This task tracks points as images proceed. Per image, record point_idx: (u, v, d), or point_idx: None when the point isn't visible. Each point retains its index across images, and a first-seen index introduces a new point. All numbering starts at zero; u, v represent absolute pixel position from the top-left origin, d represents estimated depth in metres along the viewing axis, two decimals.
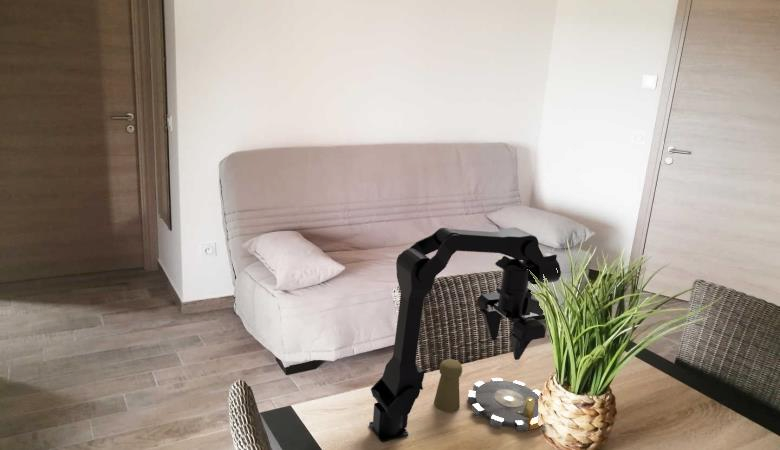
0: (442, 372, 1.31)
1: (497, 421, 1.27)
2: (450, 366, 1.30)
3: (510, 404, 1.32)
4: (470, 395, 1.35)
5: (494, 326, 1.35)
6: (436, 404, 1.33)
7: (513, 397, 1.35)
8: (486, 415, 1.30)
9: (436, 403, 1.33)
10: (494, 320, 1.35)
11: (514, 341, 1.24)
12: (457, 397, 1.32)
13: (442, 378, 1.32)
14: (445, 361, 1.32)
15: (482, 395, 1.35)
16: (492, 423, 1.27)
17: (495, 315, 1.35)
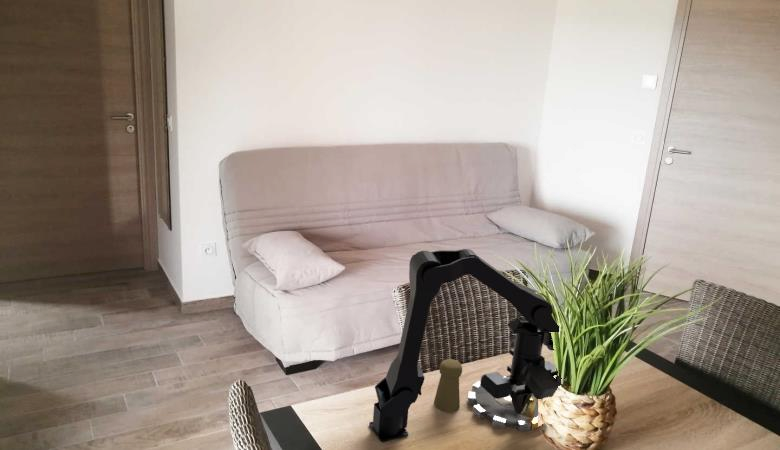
0: (442, 372, 1.31)
1: (499, 422, 1.27)
2: (450, 366, 1.30)
3: (511, 404, 1.32)
4: (470, 396, 1.35)
5: None
6: (436, 404, 1.33)
7: None
8: (488, 416, 1.30)
9: (436, 403, 1.33)
10: None
11: None
12: (457, 397, 1.32)
13: (442, 378, 1.32)
14: (445, 361, 1.32)
15: (482, 396, 1.35)
16: (494, 424, 1.27)
17: None
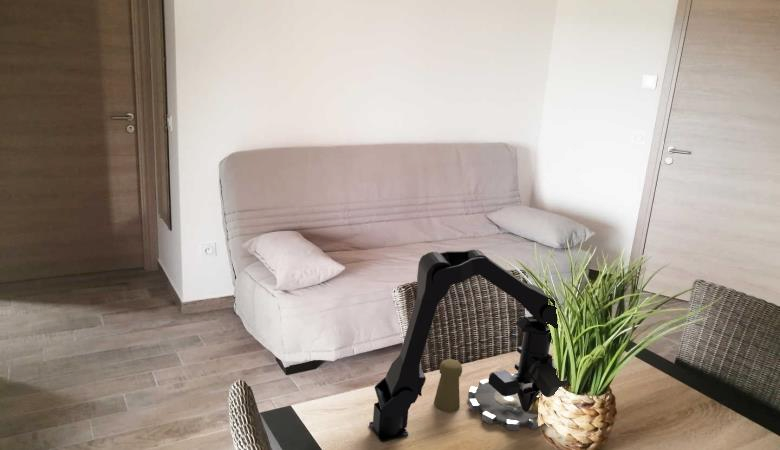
0: (442, 372, 1.31)
1: (514, 425, 1.26)
2: (449, 366, 1.30)
3: (515, 404, 1.32)
4: (474, 404, 1.32)
5: None
6: (436, 404, 1.33)
7: (512, 396, 1.35)
8: (498, 421, 1.28)
9: (436, 403, 1.33)
10: None
11: None
12: (457, 397, 1.32)
13: (442, 378, 1.32)
14: (445, 361, 1.32)
15: (485, 401, 1.33)
16: (509, 428, 1.26)
17: None
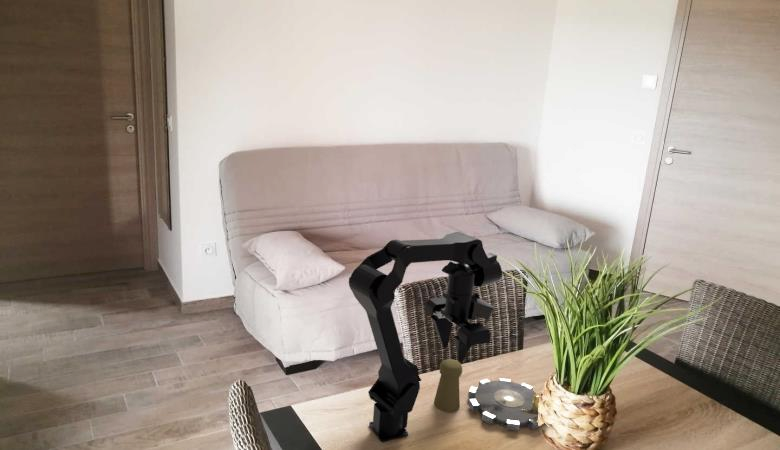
0: (442, 372, 1.31)
1: (514, 425, 1.26)
2: (450, 366, 1.30)
3: (515, 404, 1.32)
4: (474, 404, 1.32)
5: (445, 333, 1.33)
6: (436, 404, 1.33)
7: (512, 396, 1.35)
8: (498, 421, 1.28)
9: (436, 403, 1.33)
10: (445, 327, 1.33)
11: (457, 343, 1.24)
12: (457, 397, 1.32)
13: (442, 378, 1.32)
14: (445, 361, 1.32)
15: (485, 401, 1.33)
16: (509, 428, 1.26)
17: (446, 322, 1.33)
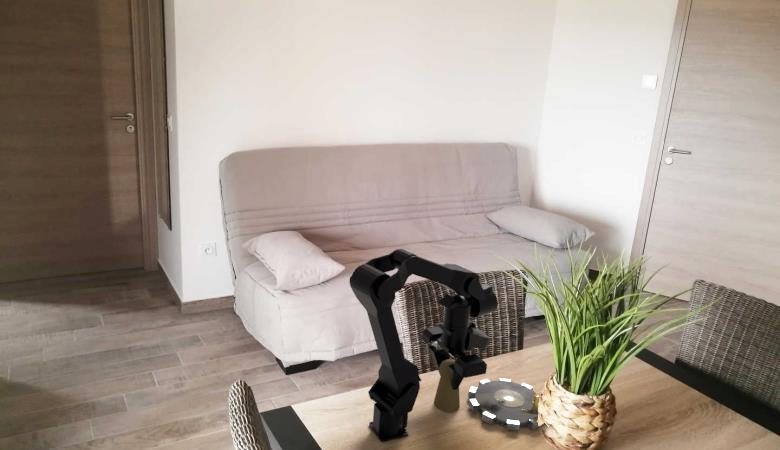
0: (442, 372, 1.31)
1: (514, 425, 1.26)
2: None
3: (515, 404, 1.32)
4: (474, 404, 1.32)
5: None
6: (436, 404, 1.33)
7: (512, 396, 1.35)
8: (498, 421, 1.28)
9: (436, 403, 1.33)
10: (444, 358, 1.34)
11: (451, 372, 1.27)
12: (457, 397, 1.32)
13: (442, 378, 1.32)
14: (445, 361, 1.32)
15: (485, 401, 1.33)
16: (509, 428, 1.26)
17: (444, 353, 1.34)
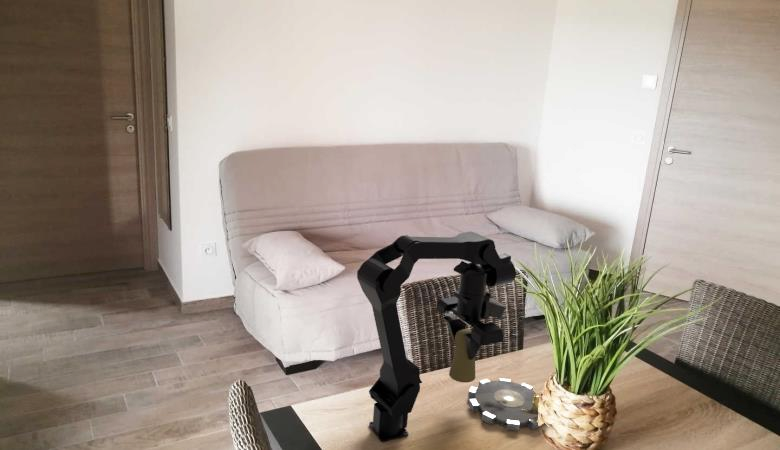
0: (458, 342, 1.29)
1: (514, 425, 1.26)
2: None
3: (515, 404, 1.32)
4: (474, 404, 1.32)
5: None
6: (452, 375, 1.31)
7: (512, 396, 1.35)
8: (498, 421, 1.28)
9: (452, 374, 1.31)
10: (459, 328, 1.32)
11: (468, 341, 1.25)
12: (473, 367, 1.31)
13: (458, 348, 1.30)
14: (461, 331, 1.30)
15: (485, 401, 1.33)
16: (509, 428, 1.26)
17: (460, 323, 1.32)
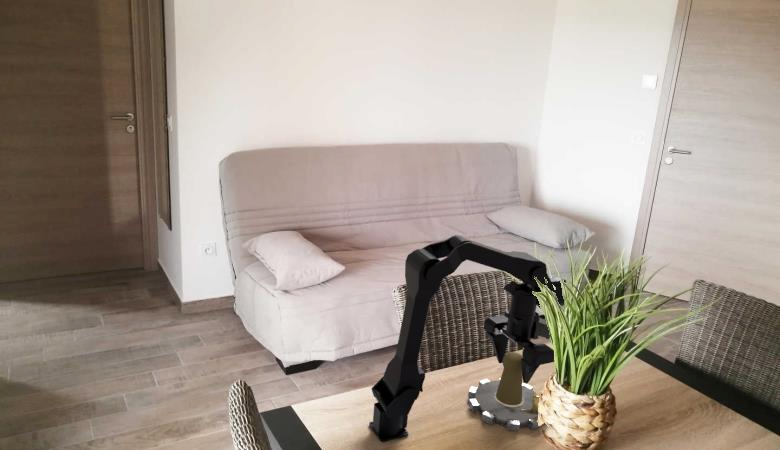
0: (506, 365, 1.31)
1: (514, 425, 1.26)
2: (514, 359, 1.30)
3: None
4: (474, 404, 1.32)
5: (501, 349, 1.36)
6: (499, 397, 1.33)
7: None
8: (498, 421, 1.28)
9: (499, 396, 1.33)
10: (501, 343, 1.36)
11: (524, 366, 1.25)
12: (520, 390, 1.32)
13: (506, 371, 1.32)
14: (508, 354, 1.32)
15: (485, 401, 1.33)
16: (509, 428, 1.26)
17: (503, 338, 1.35)
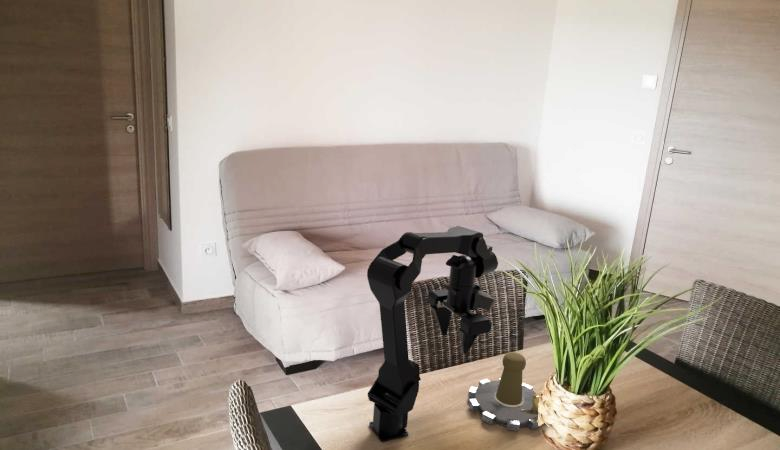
0: (506, 365, 1.31)
1: (514, 425, 1.26)
2: (514, 359, 1.30)
3: None
4: (474, 404, 1.32)
5: (444, 321, 1.39)
6: (499, 397, 1.33)
7: None
8: (498, 421, 1.28)
9: (499, 396, 1.33)
10: (444, 315, 1.39)
11: (462, 335, 1.28)
12: (520, 390, 1.32)
13: (506, 371, 1.32)
14: (508, 354, 1.32)
15: (485, 401, 1.33)
16: (509, 428, 1.26)
17: (445, 311, 1.38)
